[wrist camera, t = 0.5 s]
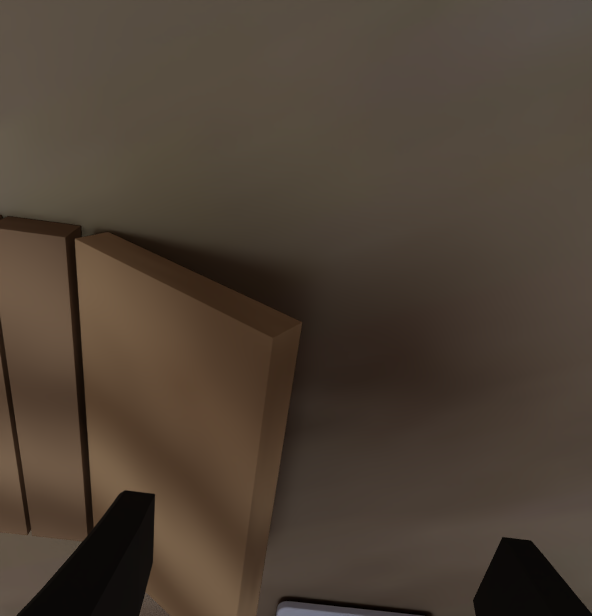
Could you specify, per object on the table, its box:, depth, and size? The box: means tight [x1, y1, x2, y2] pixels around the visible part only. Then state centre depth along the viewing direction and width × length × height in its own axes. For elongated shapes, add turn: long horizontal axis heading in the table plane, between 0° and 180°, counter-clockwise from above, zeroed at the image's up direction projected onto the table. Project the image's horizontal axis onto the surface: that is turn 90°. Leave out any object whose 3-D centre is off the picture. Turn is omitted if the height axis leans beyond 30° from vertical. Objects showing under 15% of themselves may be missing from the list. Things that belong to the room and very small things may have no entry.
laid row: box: [0, 215, 94, 541], centre depth 19 cm, size 14×5×1 cm, turn 173°
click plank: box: [75, 232, 302, 616], centre depth 17 cm, size 14×8×1 cm
